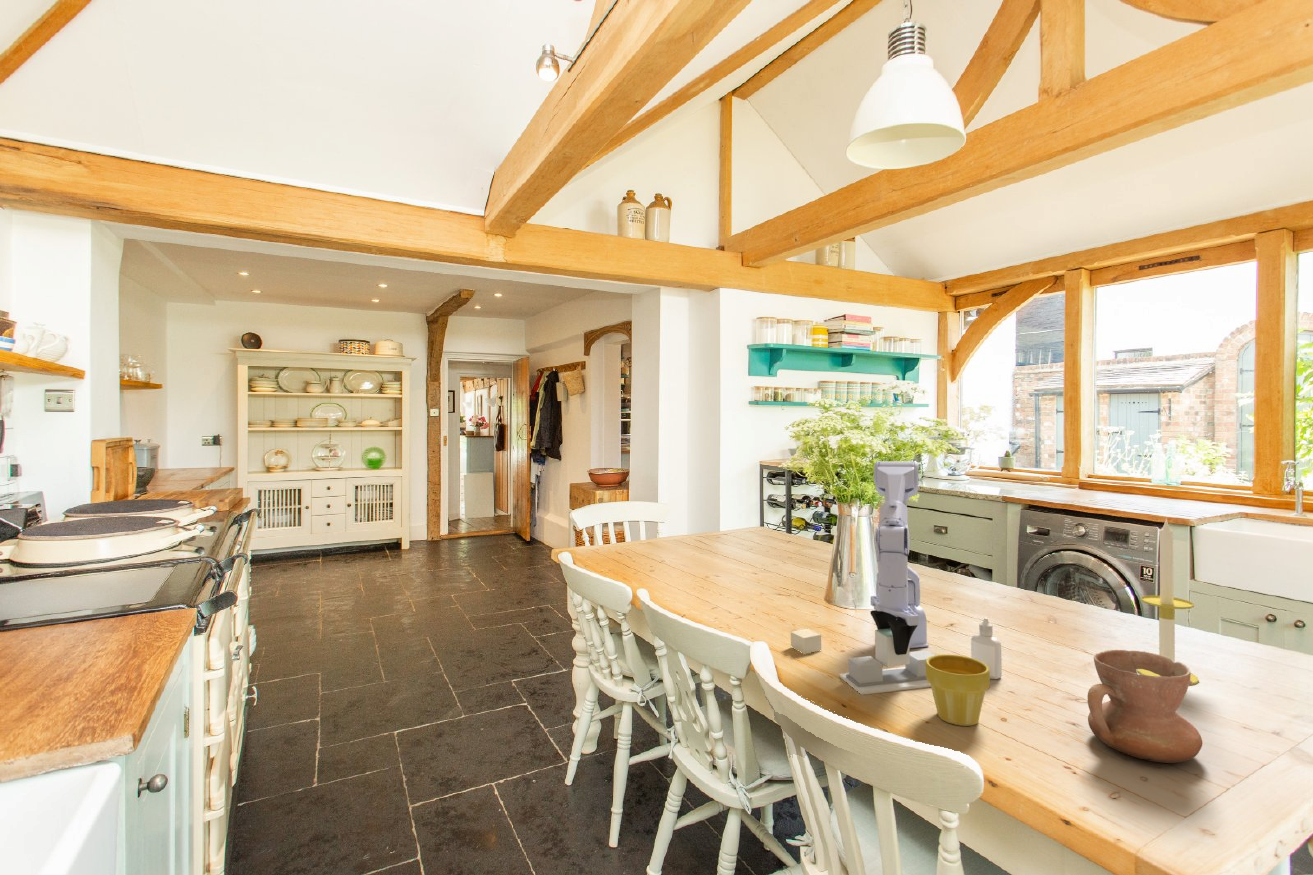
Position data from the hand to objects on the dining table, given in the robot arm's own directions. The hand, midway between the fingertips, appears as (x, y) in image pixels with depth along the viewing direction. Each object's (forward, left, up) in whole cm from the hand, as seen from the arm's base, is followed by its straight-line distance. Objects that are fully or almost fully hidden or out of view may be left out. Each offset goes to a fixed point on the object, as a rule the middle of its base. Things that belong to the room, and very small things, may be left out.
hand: (893, 649), depth 128 cm
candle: (-55, +11, -7) cm, 56 cm away
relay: (+10, -21, -7) cm, 24 cm away
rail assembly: (0, 0, -6) cm, 6 cm away
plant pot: (-2, +17, -7) cm, 18 cm away
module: (0, 0, -2) cm, 2 cm away
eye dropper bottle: (-20, +2, -7) cm, 21 cm away
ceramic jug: (-23, +33, -7) cm, 41 cm away
